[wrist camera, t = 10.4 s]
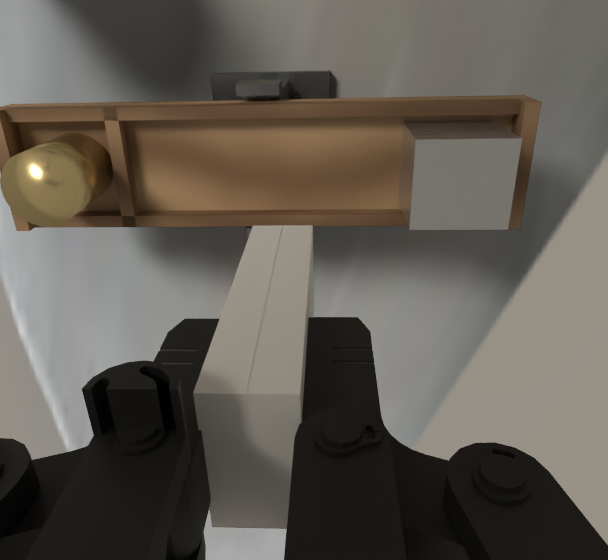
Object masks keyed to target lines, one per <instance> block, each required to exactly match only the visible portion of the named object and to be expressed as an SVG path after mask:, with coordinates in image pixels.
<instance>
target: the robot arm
mask: <svg viewBox="0 0 608 560" xmlns="http://www.w3.org/2000/svg"><path fill="white" fill-rule="evenodd" d="M82 391H83V395H84V399H85V403H86V407H87V411H88V414H89V418H90V422H91V426H92V430H93V434H94V436H93V438H92V440H91V442H90V444H89V445H88V446H87V447H84V448H81V449H77V450H74V451H71V452H66V453H62V454H58V455H53V456H48V457H44V458H40V459H35V460H31V456H30V454H29V452H28V450H27V448H26V447H25V445H24V444H22V443H20V442H18V441H16V440H14V439H4V438H0V560H205V539H204V533H203V531H204V527H205V522H206V518H207V514H208V510H209V507H210V514H211V521H212V527H234V528H280V529H287V533H286V544H285V556H284V560H608V545H607V544H606V543H605V542H604V540H603V539H602V538H601V537H600V535H599V534H598V533H597V532H596V530H595V529H594V528H593V527H592V525H591V524H590V523H589V522H588V520H587V519H586V518H585V516H584V515H583V514H582V513H581V511H580V510H579V509H578V508H577V507H576V505H575V504H574V503H573V501H572V500H571V499H570V498H569V496H568V495H567V494H566V493H565V491H564V490H563V489H562V488H561V486H560V485H559V484H558V483H557V481H556V480H555V479H554V478H553V476H552V475H551V474H550V472H549V471H548V470H547V469H545V468H544V467H543V466H542V465H541V464H540V463H539V462H538V461H537V460H536V459H535V458H533V457H532V456H530V455H528V454H526V453H524V452H522V451H520V450H518V449H516V448H513V447H510V446H506V445H502V444H498V443H474V444H472V445H469V446H466V447H463V448H460V449H459V450H458V451H457V452H456V453H455V454H454V455H453V456H452V457H451V458H450V460H449V461H448V460H444V459H440V458H436V457H433V456H429V455H425V454H423V453H419V452H417V451H414V450H412V449H410V448H408V447H406V446H405V445H403V444H401V443H399V442H398V441H397V440H396V439H395V438H394V437H393V436H392V435H390V433H389V432H388V430H387V429H386V427H385V426H384V424H383V421H382V417H381V412H380V404H379V396H378V389H377V381H376V373H375V366H374V358H373V351H372V343H371V335H370V331H369V330H368V328H367V327H366V326H365V325H364V324H363V323H362V322H361V320H360V319H359V318H358V317H314V277H313V225H273V226H253V227H252V230H251V232H250V235H249V238H248V241H247V244H246V246H245V249H244V252H243V255H242V258H241V260H240V263H239V266H238V269H237V272H236V274H235V277H234V280H233V283H232V286H231V289H230V291H229V294H228V297H227V300H226V303H225V305H224V308H223V311H222V314H221V317H220V319H184V320H183V321H182V322H180V323H179V324H178V325H177V326H175V327H174V328H173V329H172V330H170V331H169V332H168V334H167V336H166V338H165V340H164V342H163V344H162V346H161V348H160V351H159V352H158V354H157V356H156V358H155V360H154V362H152V361H137V362H127V363H124V364H121V365H118V366H114V367H111V368H108V369H107V370H105V371H103V372H101V373H100V374H98V375H96V376H95V377H93V378H92V379H91V380H90V381H89V382H88V383H87V384H86V385H85V386H84V387H83V388H82Z"/></svg>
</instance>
